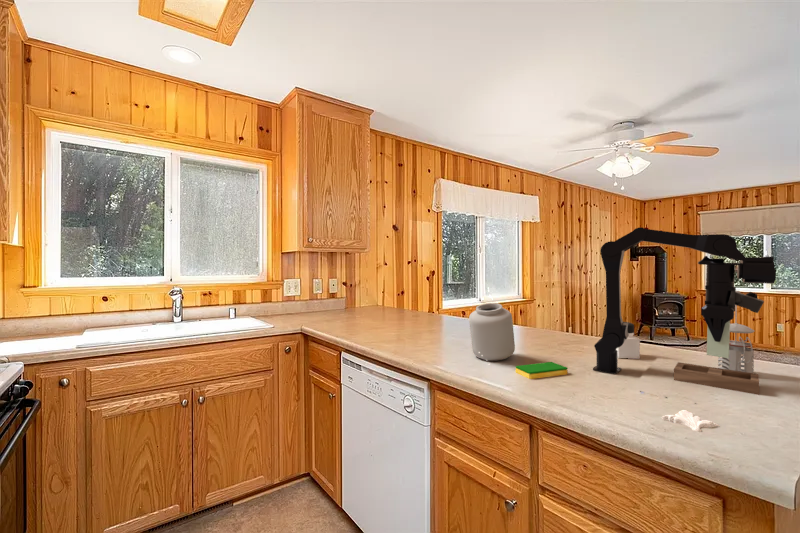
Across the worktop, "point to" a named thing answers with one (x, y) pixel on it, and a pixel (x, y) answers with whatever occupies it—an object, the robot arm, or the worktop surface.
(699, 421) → the acanthus leaf ornament
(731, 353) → the french press
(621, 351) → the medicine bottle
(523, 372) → the dish sponge
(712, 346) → the green block
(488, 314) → the jar
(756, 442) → the worktop surface
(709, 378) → the pocket holder
